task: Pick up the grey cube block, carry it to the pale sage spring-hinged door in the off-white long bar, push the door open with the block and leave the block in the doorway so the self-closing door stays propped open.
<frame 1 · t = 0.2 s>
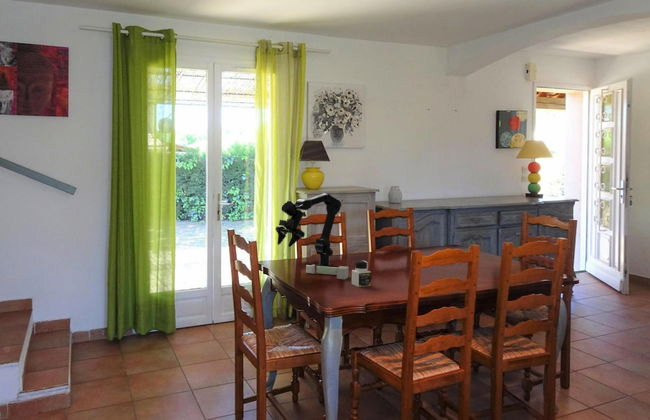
hand: (283, 245, 290), 15 cm above the table, tool tilted 30°, fingers open, 9 cm apart
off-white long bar: (325, 274, 289), on the table
grey cube block: (342, 277, 281), on the table
door: (327, 270, 288), point 2 cm above the table, hinge at 0.0°
medicine bottle: (361, 285, 266), on the table
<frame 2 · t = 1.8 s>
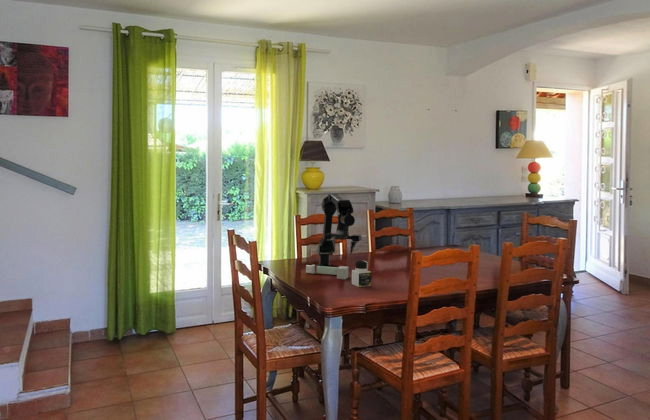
hand: (342, 253, 280), 13 cm above the table, tool pointing down, fingers open, 9 cm apart
nothing on the table moved.
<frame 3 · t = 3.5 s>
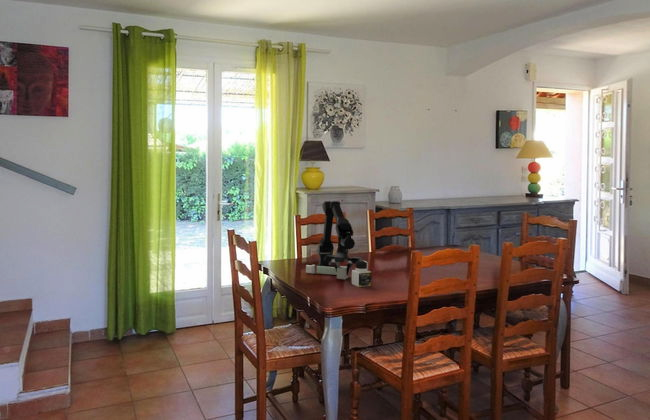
hand: (342, 275, 281), 1 cm above the table, tool pointing down, fingers closed on grey cube block, 5 cm apart
grey cube block: (342, 277, 281), on the table, touching gripper
everything else where it was.
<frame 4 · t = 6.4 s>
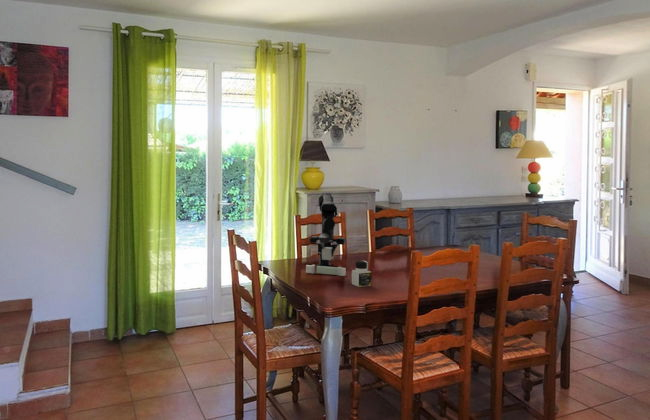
hand: (327, 256, 283), 11 cm above the table, tool pointing down, fingers closed on grey cube block, 5 cm apart
grey cube block: (327, 258, 283), point 10 cm above the table, touching gripper
everything else where it was.
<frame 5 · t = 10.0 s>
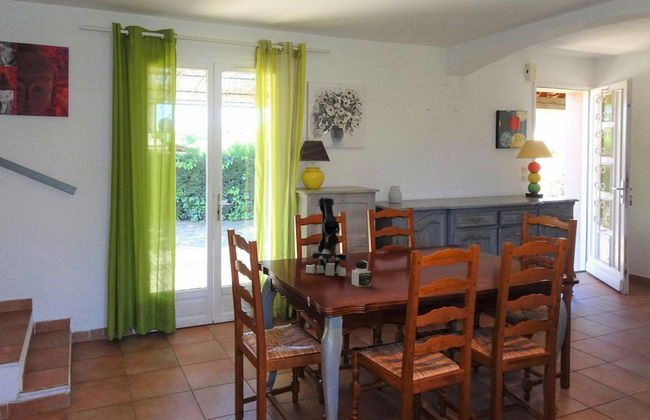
hand: (330, 271, 288), 2 cm above the table, tool pointing down, fingers closed on grey cube block, 5 cm apart
grey cube block: (330, 274, 287), on the table, touching gripper
door: (327, 269, 290), point 2 cm above the table, hinge at 19.4°, touching gripper
everything else where it was.
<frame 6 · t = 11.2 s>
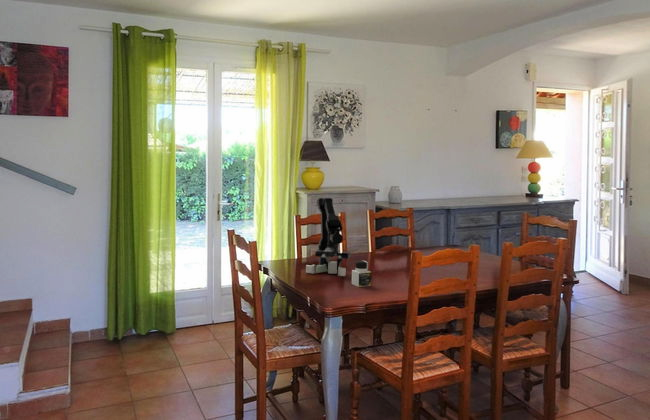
hand: (332, 269, 292), 2 cm above the table, tool pointing down, fingers closed on grey cube block, 5 cm apart
grey cube block: (332, 272, 292), on the table, touching gripper
door: (325, 268, 295), point 2 cm above the table, hinge at 57.6°, touching gripper
everything else where it was.
when the fingers open (2 cm above the table, at t = 13.1 s): grey cube block stays where it is, on the table.
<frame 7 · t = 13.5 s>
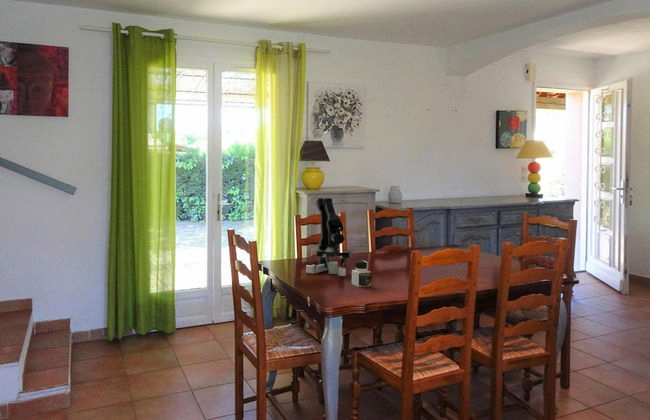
hand: (334, 269, 294), 2 cm above the table, tool pointing down, fingers open, 8 cm apart
grey cube block: (333, 272, 293), on the table
door: (323, 267, 296), point 2 cm above the table, hinge at 71.6°, touching gripper
everything else where it was.
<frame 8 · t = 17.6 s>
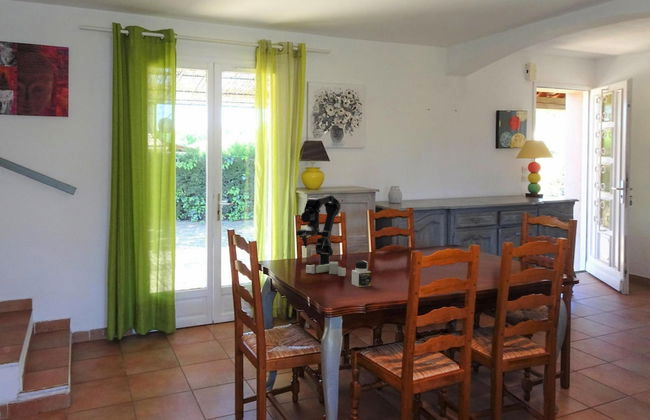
hand: (313, 248, 300), 12 cm above the table, tool pointing down, fingers open, 9 cm apart
grey cube block: (333, 272, 293), on the table, touching door
door: (325, 268, 294), point 2 cm above the table, hinge at 55.9°, touching grey cube block
everything else where it was.
at the end: door at +56° (first picture: +0°); grey cube block inside the target area (1.0 cm from its centre), on the table; grey cube block tilted 0° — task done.
